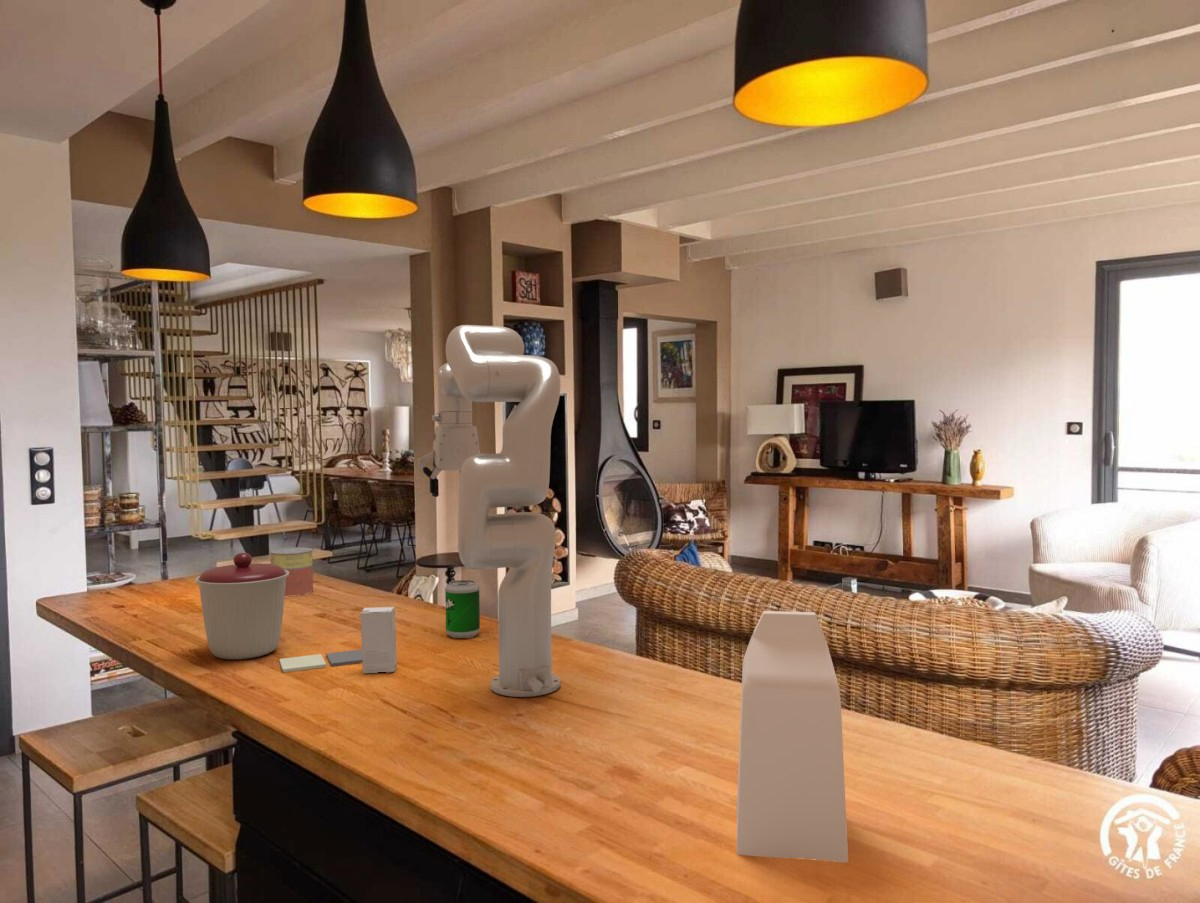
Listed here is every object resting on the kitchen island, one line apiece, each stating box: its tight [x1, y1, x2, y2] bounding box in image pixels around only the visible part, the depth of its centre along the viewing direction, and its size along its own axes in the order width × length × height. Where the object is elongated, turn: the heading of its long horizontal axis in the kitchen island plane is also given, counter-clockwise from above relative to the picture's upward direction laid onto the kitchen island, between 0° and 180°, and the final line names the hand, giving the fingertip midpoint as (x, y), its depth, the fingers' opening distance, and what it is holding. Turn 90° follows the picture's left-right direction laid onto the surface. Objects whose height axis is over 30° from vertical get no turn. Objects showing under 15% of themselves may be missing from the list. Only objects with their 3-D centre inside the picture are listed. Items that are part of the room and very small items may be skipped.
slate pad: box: [325, 648, 363, 667], centre depth 174 cm, size 8×8×1 cm
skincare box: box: [359, 606, 398, 674], centre depth 166 cm, size 6×4×12 cm
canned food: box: [269, 546, 314, 596], centre depth 241 cm, size 11×11×12 cm
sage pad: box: [279, 653, 327, 673], centre depth 171 cm, size 8×8×1 cm
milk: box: [736, 610, 849, 863], centre depth 100 cm, size 12×12×26 cm
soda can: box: [444, 579, 481, 639], centre depth 192 cm, size 8×8×12 cm
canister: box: [194, 552, 289, 660], centre depth 179 cm, size 18×18×21 cm
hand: (456, 495), depth 195 cm, fingers open, 9 cm apart
